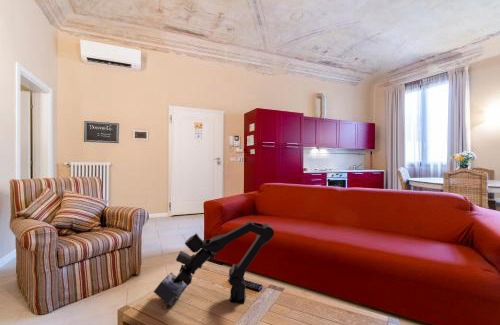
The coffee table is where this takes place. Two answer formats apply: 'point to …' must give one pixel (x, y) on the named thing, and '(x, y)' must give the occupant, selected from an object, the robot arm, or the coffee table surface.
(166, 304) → the stop rail
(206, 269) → the coffee table surface
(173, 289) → the small box
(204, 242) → the robot arm
